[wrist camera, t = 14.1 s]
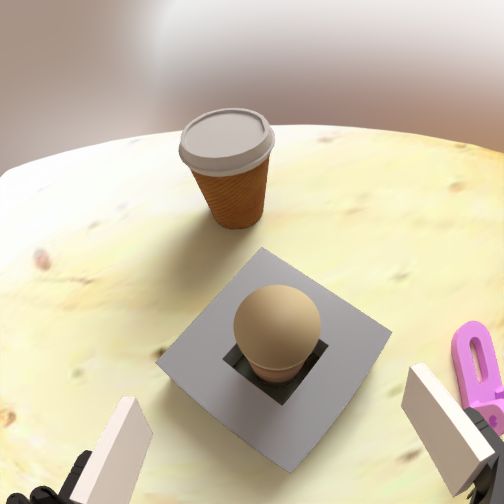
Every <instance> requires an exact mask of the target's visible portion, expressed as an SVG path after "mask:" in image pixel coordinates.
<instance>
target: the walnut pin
mask: <svg viewBox="0 0 504 504" xmlns="http://www.w3.org/2000/svg"><path fill="white" fill-rule="evenodd" d="M233 330H234V336H235V339H236V342H237V344H238V346H239V348H240V350H241V351H242V353H243V354H244V355H245V357H246V358H247V359H248V361H249V363H250V365H251V367H252V369H253V371H254V373H255V375H256V376H257V378H258V379H259V380H260V381H261V382H262V383H264V384H266V385H268V386H271V387H281V386H284V385H287V384H289V383H290V382H291V381H293V380H294V379H295V377H296V376H297V374H298V372H299V371H300V369H301V367H302V365H303V364H304V362H305V360H306V358H307V357H308V356H309V355H310V354H311V352H312V351H313V349H314V348H315V346H316V344H317V342H318V340H319V336H320V332H321V320H320V315H319V312H318V310H317V308H316V306H315V304H314V303H313V301H312V300H311V299H310V298H309V297H308V296H307V295H306V294H304V293H303V292H301V291H300V290H298V289H295V288H293V287H290V286H285V285H270V286H265V287H262V288H260V289H257V290H255V291H254V292H252V293H251V294H249V295H248V296H247V297H246V298H245V299H244V300H243V301H242V303H241V304H240V306H239V307H238V309H237V311H236V314H235V317H234V323H233Z"/></svg>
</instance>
